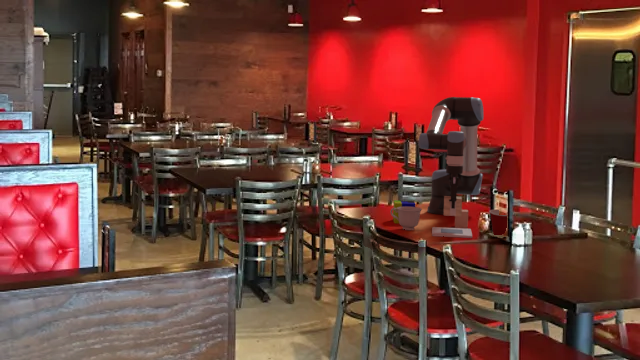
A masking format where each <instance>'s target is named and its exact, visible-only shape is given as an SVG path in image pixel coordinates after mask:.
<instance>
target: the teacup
mask: <svg viewBox="0 0 640 360" xmlns="http://www.w3.org/2000/svg"><path fill="white" fill-rule="evenodd" d="M393 210H395V211H396V213H397V212H398V216H399V218H398V217H396V216H394V215H393ZM397 210H398V211H397ZM397 210H396V208H394V207H392V208H391V209H390V215H391V217H392V218H393V217H394V218H396V219H398V221H399V223H398V224H399V225H400V226H401V227H402V228H401V229H402V230H404V229H405V231H414V230H415V227H417V226H418V225H419V222H420V215H421V212H422V210H423V209H422V208H421V207H418V206H415V207H397Z"/></svg>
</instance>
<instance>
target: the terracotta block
mask: <svg viewBox="0 0 640 360" xmlns="http://www.w3.org/2000/svg"><path fill="white" fill-rule="evenodd" d="M468 225H469V210H468V209H462V214H461V216H454V228H464V229H469V228H468V227H469V226H468Z"/></svg>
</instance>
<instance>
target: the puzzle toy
mask: <svg viewBox="0 0 640 360" xmlns="http://www.w3.org/2000/svg"><path fill="white" fill-rule="evenodd" d="M397 207H416V202H415V201H414V200H393V208H396V210H397ZM397 211H398V210H397ZM392 213H393V215H394V216H396V217H398V218H399V216H398V212H397V213H396V211H395V210H393V211H392ZM392 220H393V223H394V224H400V223H399V221H398V219H396V218H394V217H392Z"/></svg>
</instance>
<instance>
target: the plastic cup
mask: <svg viewBox="0 0 640 360" xmlns="http://www.w3.org/2000/svg"><path fill="white" fill-rule="evenodd" d="M499 210H500V209H490V210H489V211H488V212H489V214H490V219H491V230H492V235H493V234H494V235H502V234H504V233H505V231H506V228H507V215H499ZM513 215H514V212H513Z"/></svg>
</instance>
